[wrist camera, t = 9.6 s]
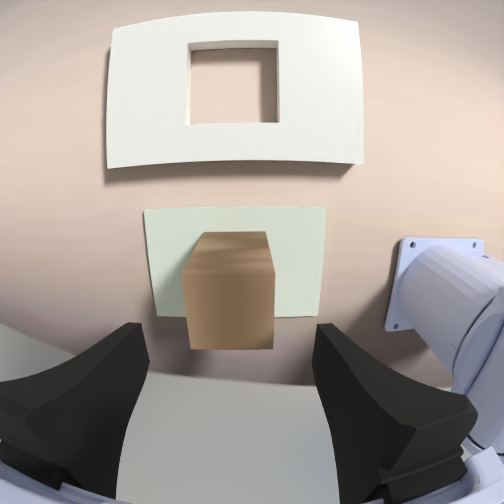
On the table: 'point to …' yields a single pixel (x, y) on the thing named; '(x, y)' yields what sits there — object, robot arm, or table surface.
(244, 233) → the walnut plug
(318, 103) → the white square-hole board
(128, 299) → the table surface
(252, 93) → the table surface
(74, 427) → the robot arm
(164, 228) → the rubber mat
